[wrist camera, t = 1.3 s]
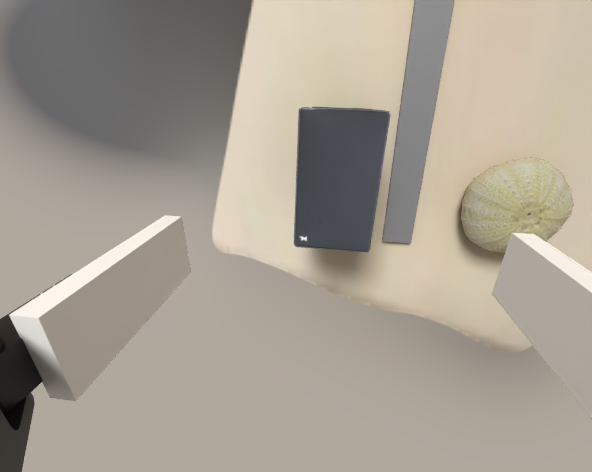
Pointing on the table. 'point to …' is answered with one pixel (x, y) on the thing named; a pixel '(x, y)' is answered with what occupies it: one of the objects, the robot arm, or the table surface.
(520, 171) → the sea urchin shell
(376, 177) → the small box
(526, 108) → the table surface
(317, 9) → the table surface
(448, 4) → the gray strip
